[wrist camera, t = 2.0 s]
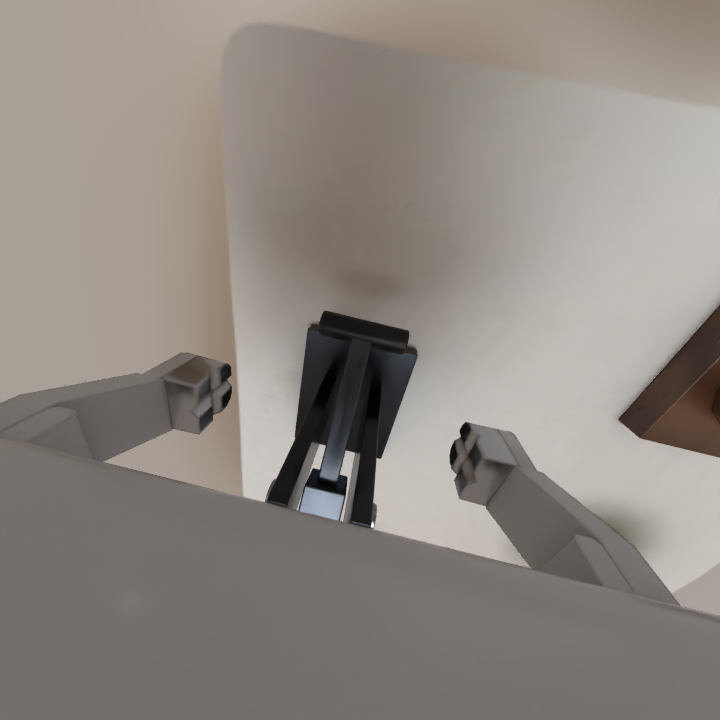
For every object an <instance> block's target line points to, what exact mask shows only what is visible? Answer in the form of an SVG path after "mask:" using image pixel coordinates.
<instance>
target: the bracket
mask: <svg viewBox="0 0 720 720" xmlns="http://www.w3.org/2000/svg"><path fill="white" fill-rule="evenodd" d="M350 346H351V342H347V341H343V340H339V339H334V338H330V337H326V336H322V335H319V326H317V325H311V326H310V327H309V329H308V333H307V341H306V349H305V357H304V366H303V374H302V382H301V390H300V398H299V406H298V414H297V423H296V431H295V441H294V443H293V445H292V447H291V449H290V451H289V453H288V455H287V458H286V460H285V462H284V464H283V466H282V468H281V470H280V473H279V475H278V477H277V479H274V480H273V482H272V483H271V485H270V487H269V490H268V493H267V496H266V500H265V503H269V504H273V505H277V506H281V507H285V508H290V509H294V510H297V507H298V504H299V501H300V498H301V495H302V492H303V490H304V486H305V484H306V481H307V478H308V475H309V472H310V469H311V466H312V464H313V461H314V458H315V455H316V452H317V449H318V446H319V444H322V445H326V444H327V440H328V435H329V431H330V427H331V423H332V419H333V415H334V411H335V407H336V403H337V399H338V395H339V391H340V387H341V382H342V378H343V374H344V370H345V366H346V362H347V358H348V354H349V350H350ZM417 356H418V355H417V350H416V349H412V348H408V347H406V350H405V352H404V354H403V355H401V354H396V353H392V352H388V351H384V350H380V349H376V348H372V347H370V351H369V355H368V359H367V363H366V367H365V371H364V376H363V380H362V384H361V388H360V392H359V396H358V400H357V404H356V409H355V413H354V417H353V421H352V425H351V429H350V433H349V438H348V442H347V446H346V450H347V451H351V452H355V456H354V462H353V468H352V473H351V479H350V485H349V491H348V497H347V503H346V508H345V514H344V520H343V522H346V523H350V524H354V525H358V526H362V527H366V528H370V529H374V525H375V521H376V513H377V505H376V504H375V503H373V499H374V485H375V471H376V458H379V459H381V458H382V455H383V452H384V449H385V446H386V444H387V441H388V438H389V435H390V432H391V429H392V427H393V424H394V421H395V418H396V415H397V413H398V410H399V407H400V404H401V401H402V399H403V396H404V393H405V390H406V387H407V385H408V382H409V379H410V376H411V373H412V370H413V368H414V365H415V362H416V359H417Z"/></svg>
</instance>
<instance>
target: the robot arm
mask: <svg viewBox="0 0 720 720" xmlns="http://www.w3.org/2000/svg"><path fill="white" fill-rule="evenodd" d="M230 376H231V367H230V365H229V364H227V363H224V362H220V361H216V360H213V359H209V358H205V357H201V356H198V355H194V354H190V353H180V354H178V355H176V356H174V357H172V358H171V359H169V360H167V361H165V362H163V363H161V364H160V365H158V366H156V367H154V368H152V369H151V370H149V371H147V372H145V373H143V374H139V373H134V374H129V375H124V376H119V377H113V378H108V379H102V380H97V381H92V382H86V383H81V384H76V385H70V386H65V387H59V388H54V389H48V390H43V391H38V392H33V393H27V394H22V395H18V396H16V397H14V398H11V399H9V400H7V401H4V402H2V403H0V720H720V616H719V615H715V614H711V613H707V612H703V611H699V610H695V609H691V608H687V607H683V606H680V604H679V603H678V602H677V600H676V599H675V598H674V596H673V595H672V594H671V593H670V591H669V590H668V589H667V587H666V586H665V585H664V584H663V582H662V581H661V580H660V578H659V577H658V576H657V574H656V573H655V572H654V571H653V569H652V568H651V567H650V565H649V564H648V563H647V562H646V560H645V559H644V558H643V556H642V555H641V554H640V553H639V551H638V550H637V549H636V548H635V547H634V546H633V545H632V544H630V543H629V542H628V541H627V540H626V539H624V538H623V537H622V536H621V535H619V534H618V533H617V532H616V531H614V530H613V529H612V528H611V527H609V526H608V525H607V524H606V523H604V522H603V521H602V520H601V519H599V518H598V517H597V516H596V515H594V514H593V513H592V512H591V511H589V510H588V509H587V508H586V507H585V506H583V505H582V504H581V503H580V502H578V501H577V500H576V499H575V498H573V497H572V496H571V495H570V494H568V493H567V492H566V491H565V490H563V489H562V488H561V487H560V486H558V485H557V484H556V483H555V482H553V481H552V480H551V479H550V478H548V477H547V476H546V475H545V474H544V473H542V472H538V471H537V470H536V468H535V467H534V465H533V463H532V462H531V460H530V459H529V457H528V455H527V454H526V452H525V450H524V449H523V447H522V446H521V444H520V442H519V441H518V439H517V437H516V436H515V435H514V434H513V433H512V432H509V431H504V430H500V429H494V428H489V427H485V426H481V425H476V424H472V423H467V422H465V423H464V424H463V425H462V427H461V429H460V434H461V437H460V438H459V439H457V440H455V441H454V443H453V445H452V447H451V451H450V465H451V469H452V470H453V471H454V472H455V473H456V474H457V476H456V478H455V480H454V481H455V485H456V489H457V492H458V496H459V499H462V500H465V501H469V502H473V503H476V504H480V505H483V506H486V509H487V510H488V511H489V513H490V514H491V515H492V517H493V518H494V519H495V521H496V522H497V523H498V525H499V526H500V527H501V529H502V530H503V531H504V533H505V534H506V535H507V537H508V538H509V539H510V541H511V542H512V543H513V545H514V546H515V547H516V549H517V550H518V551H519V553H520V554H521V555H522V557H523V558H524V559H525V561H526V562H527V563H528V565H529V566H530V567H531V569H530V568H526V567H522V566H518V565H514V564H510V563H506V562H502V561H498V560H494V559H490V558H486V557H482V556H478V555H474V554H470V553H466V552H462V551H458V550H454V549H450V548H446V547H442V546H438V545H434V544H430V543H426V542H422V541H418V540H414V539H410V538H406V537H402V536H398V535H394V534H390V533H386V532H382V531H378V530H374V529H370V528H366V527H362V526H358V525H354V524H350V523H346V522H342V521H338V520H334V519H330V518H326V517H322V516H318V515H314V514H310V513H306V512H302V511H298V510H294V509H290V508H285V507H281V506H277V505H273V504H269V503H265V502H261V501H257V500H253V499H249V498H245V497H241V496H237V495H233V494H229V493H225V492H221V491H217V490H213V489H209V488H205V487H201V486H197V485H193V484H189V483H185V482H181V481H177V480H173V479H169V478H165V477H161V476H157V475H153V474H148V473H145V472H140V471H137V470H133V469H128V468H125V467H121V466H117V465H113V464H109V463H105V462H103V461H106V460H108V459H110V458H112V457H114V456H116V455H119V454H121V453H123V452H125V451H127V450H130V449H132V448H134V447H136V446H138V445H140V444H143V443H145V442H147V441H149V440H151V439H154V438H156V437H158V436H160V435H162V434H164V433H167V432H169V431H171V430H172V429H177V430H181V431H186V432H190V433H195V434H200V433H201V432H202V431H203V430H204V429H205V428H206V427H207V426H208V425H209V424H210V423H211V422H212V421H213V415H214V414H217V413H220V412H222V411H223V409H224V408H225V407H226V406H227V404H228V402H229V400H230V398H231V393H232V386H231V384H230V383H229V382H228V380H227V379H228V378H229V377H230Z"/></svg>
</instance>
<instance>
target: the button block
mask: <svg viewBox="0 0 720 720" xmlns="http://www.w3.org/2000/svg"><path fill="white" fill-rule="evenodd" d="M619 421H620V422H621V423H623V424H624V425H625V426H626V427H627V428H629V429H630V430H631V431H632V432H633V433H635V434H636V435H637V436H638V437H639V438H641V439H645V440H650V441H654V442H658V443H662V444H666V445H670V446H674V447H678V448H683V449H687V450H691V451H695V452H699V453H703V454H707V455H711V456H715V457H720V307H719V308H718V309H717V310H716V311H715V312H714V313H713V315H712V316H711V317H710V318H709V319H708V320H707V321H706V322H705V324H704V325H703V326H702V327H701V328H700V329H699V330H698V331H697V333H696V334H695V335H694V336H693V337H692V338H691V339H690V340H689V342H688V343H687V344H686V345H685V346H684V347H683V348H682V349H681V351H680V352H679V353H678V354H677V355H676V356H675V357H674V358H673V360H672V361H671V362H670V363H669V364H668V365H667V366H666V367H665V369H664V370H663V371H662V372H661V373H660V374H659V375H658V376H657V378H656V379H655V380H654V381H653V382H652V383H651V384H650V385H649V387H648V388H647V389H646V390H645V391H644V392H643V393H642V394H641V396H640V397H639V398H638V399H637V400H636V401H635V402H634V403H633V405H632V406H631V407H630V408H629V409H628V410H627V411H626V412H625V414H624V415H623V416H622V417H621V418H620V419H619Z"/></svg>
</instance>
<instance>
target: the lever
mask: <svg viewBox="0 0 720 720" xmlns="http://www.w3.org/2000/svg"><path fill="white" fill-rule="evenodd" d="M319 335H322V336H326V337H330V338H334V339H339V340H343V341H347V342H351V346H350V350H349V354H348V358H347V362H346V366H345V370H344V374H343V378H342V382H341V387H340V391H339V395H338V399H337V403H336V407H335V411H334V415H333V419H332V423H331V427H330V431H329V435H328V440H327V444H326V448H325V452H324V456H323V460H322V464H321V468H320V470H318V469H314V468H313V469H312V471H311V473H310V475H309V477H308V479H307V482H306V484H305V486H304V490H303V494H302V498H301V502H300V506H299V510H298V511H302V512H306V513H310V514H314V515H318V516H322V517H326V518H330V519H334V520H338V521H340V517H341V513H342V509H343V505H344V500H345V496H346V487H347V476H343V475H340V471H341V467H342V462H343V458H344V454H345V450H346V446H347V442H348V438H349V433H350V429H351V425H352V421H353V417H354V413H355V409H356V404H357V400H358V396H359V392H360V388H361V384H362V380H363V376H364V371H365V367H366V363H367V359H368V355H369V351H370V347H372V348H376V349H380V350H384V351H388V352H392V353H396V354H401V355H403V354H404V352H405V350H406V347H407V344H408V340H409V331H408V330H404V329H400V328H395V327H391V326H387V325H383V324H379V323H375V322H371V321H367V320H362V319H358V318H354V317H350V316H346V315H342V314H338V313H333V312H329V311H324V312H323V314H322V316H321V319H320V324H319Z"/></svg>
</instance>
